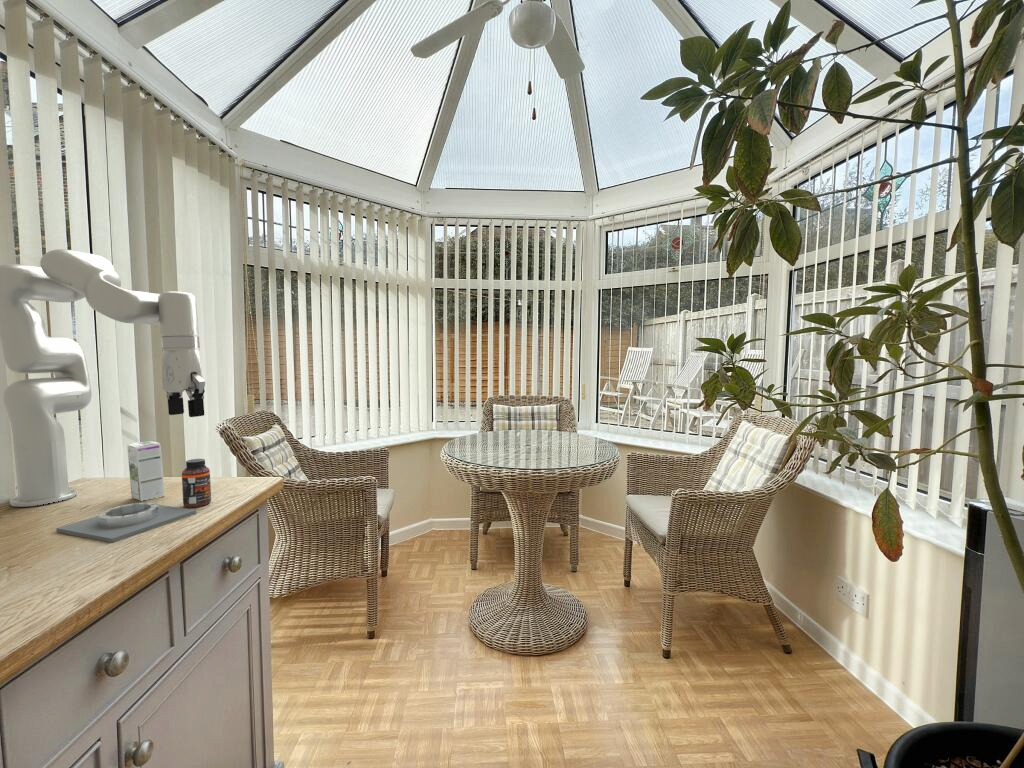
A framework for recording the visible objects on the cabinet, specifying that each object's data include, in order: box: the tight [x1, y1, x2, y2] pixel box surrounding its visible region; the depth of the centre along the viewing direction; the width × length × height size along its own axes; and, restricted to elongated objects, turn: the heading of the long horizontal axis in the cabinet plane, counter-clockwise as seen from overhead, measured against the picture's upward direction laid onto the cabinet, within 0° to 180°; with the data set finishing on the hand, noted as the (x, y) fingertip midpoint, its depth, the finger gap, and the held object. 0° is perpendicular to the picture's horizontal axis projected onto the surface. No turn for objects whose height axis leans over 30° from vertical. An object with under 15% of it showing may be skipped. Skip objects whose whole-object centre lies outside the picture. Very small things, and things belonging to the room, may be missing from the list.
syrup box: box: [127, 440, 165, 502], centre depth 128 cm, size 6×6×14 cm
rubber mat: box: [55, 504, 197, 543], centre depth 110 cm, size 18×18×1 cm
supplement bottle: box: [181, 458, 212, 508], centre depth 122 cm, size 6×6×11 cm
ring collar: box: [98, 501, 158, 528], centre depth 110 cm, size 10×10×2 cm
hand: (186, 415), depth 118 cm, fingers open, 9 cm apart
